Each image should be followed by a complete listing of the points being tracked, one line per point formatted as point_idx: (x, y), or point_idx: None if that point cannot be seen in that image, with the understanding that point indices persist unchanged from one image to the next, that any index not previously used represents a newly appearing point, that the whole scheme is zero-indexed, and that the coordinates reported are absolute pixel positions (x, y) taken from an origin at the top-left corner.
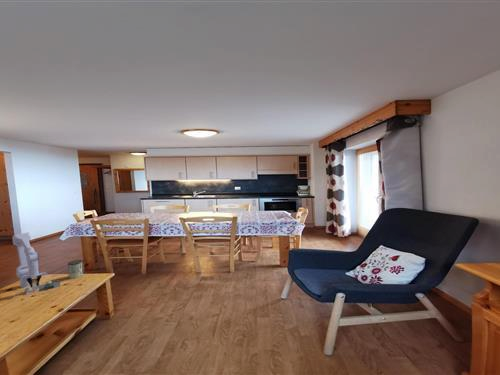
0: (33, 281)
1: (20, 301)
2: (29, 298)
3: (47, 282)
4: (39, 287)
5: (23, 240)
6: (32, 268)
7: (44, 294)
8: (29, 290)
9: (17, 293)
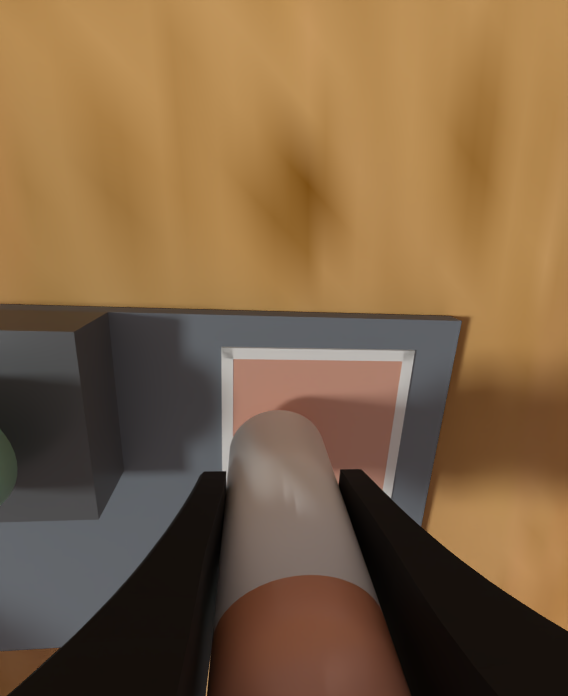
0: (340, 622)
1: (526, 39)
2: (370, 81)
3: None
4: None
5: None
6: None
7: (79, 74)
8: None
9: (495, 529)
